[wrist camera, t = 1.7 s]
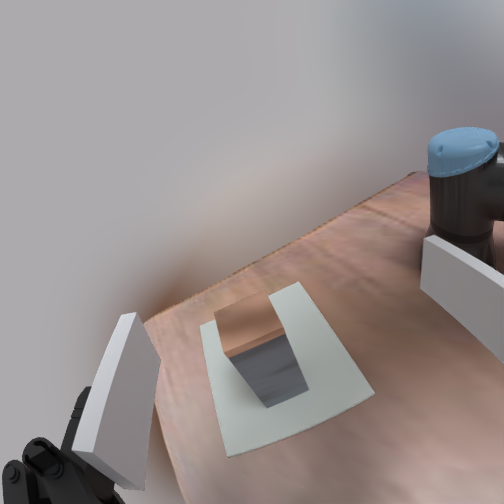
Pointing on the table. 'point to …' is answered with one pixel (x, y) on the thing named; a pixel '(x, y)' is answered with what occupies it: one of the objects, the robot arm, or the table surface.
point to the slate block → (260, 349)
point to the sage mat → (313, 369)
